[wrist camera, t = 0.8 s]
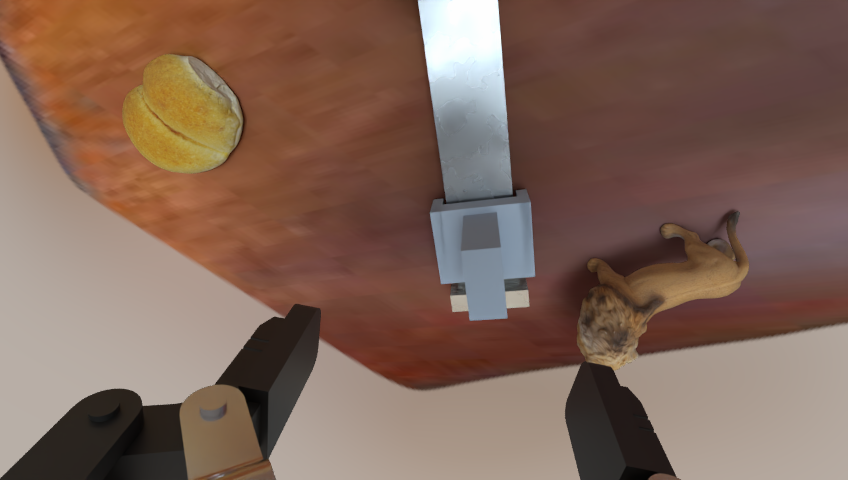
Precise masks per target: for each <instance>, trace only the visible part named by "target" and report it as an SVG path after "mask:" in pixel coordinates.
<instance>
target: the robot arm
mask: <svg viewBox="0 0 848 480" xmlns="http://www.w3.org/2000/svg"><path fill="white" fill-rule="evenodd" d="M320 318H321V310H320V308H315V307H310V306H305V305H300V304H295V305H294V306H293V307H292V309H291V310H290V312H289V313H288V314H287V316H286V317H285V319H284V318H278V317H273V318H271V319H270V320H268V321H266V322H265V323H263V324H261V325H260V326H259V327H258V328H257V330H256V331H255V332H254V334H253V335H252V336H251V339H249V340H248V341H247V343H246V344H245V345H244V348H243V349H241V351H240V352H239V353H238V355H237V356H236V357H235V359H234V360H233V361H232V362H231V364H230V365H229V366H228V368H227V369H226V370H225V372H224V373H223V374H222V376H221V377H220V378H219V380H218V381H217V382H216V384H215V385H212V386H208V387H204V388H202V389H199V390H197V391H195V392H194V393H192V394H191V395H190V396H188V397H187V398H186V400H185V401H184V402H183V403H178V404H170V405H169V404H168V405H152V406H142V400H141V398H140V396H139V395H138V394H137V393H135V392H133V391H130V390H127V389H110V390H105V391H101V392H98V393H95V394H92V395H90V396H88V397H86V398H84V399H83V400H81V401H80V402H78V403H77V404H76V405H75V406H74V407H72V408H71V409H70V410H69V411H68V412H67V413H66V414H65V415H64V416H63V417H62V418H61V419H60V420H59V421H58V422H57V423H56V424H55V425H54V426H53V427H52V428H51V429H50V430H49V431H48V432H47V433H46V434H45V435H44V436H43V437H42V438H41V439H40V440H39V441H38V442H37V443H36V444H35V445H34V446H33V447H32V448H31V449H30V450H29V451H28V452H27V453H26V454H25V455H24V456H23V457H22V458H21V459H20V460H19V461H18V462H17V463H16V464H15V465H14V466H13V467H12V468H10V469H9V471H8V472H7V473H5V474H4V475H3V476H2V477H1V478H0V480H276V478H275V475H274V472H273V469H272V466H271V463H270V461H269V460H268V459H269V457H270V455H271V452H272V450H273V448H274V446H275V444H276V442H277V440H278V438H279V436H280V434H281V432H282V430H283V428H284V426H285V424H286V422H287V420H288V418H289V416H290V414H291V412H292V410H293V408H294V406H295V404H296V402H297V400H298V398H299V396H300V394H301V391H302V390H303V388H304V386H305V384H306V382H307V380H308V378H309V376H310V374H311V372H312V370H313V367H314V364H315V361H316V358H317V353H318V343H319V331H320ZM565 419H566V424H567V428H568V432H569V436H570V440H571V444H572V448H573V452H574V456H575V460H576V464H577V468H578V472H579V476H580V479H581V480H681V479H679V478H677V477H676V475H675V473H674V471H673V469H672V466H671V464H670V462H669V460H668V458H667V456H666V454H665V452H664V450H663V448H662V445H661V443H660V441H659V439H658V437H657V435H656V433H654V429H653V427H652V425H651V422H650V421H649V420H648V416H647V414H646V412H645V410H644V408H643V406H642V404H641V402H640V401H639V400H638V398H637V397H636V396H635V395H634V394H633V393H632V392H631V391H630V390H629V389H628V387H623V386H620V384H619V382H618V379H617V377H616V375H615V373H614V370H613V369H612V367H610V366H606V365H601V364H596V363H591V362H586V361H585V362H583V363H582V364H581V366H580V369H579V371H578V374H577V376H576V379H575V381H574V384H573V386H572V389H571V391H570V394H569V396H568V399H567V402H566V409H565Z"/></svg>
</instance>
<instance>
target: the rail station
mask: <svg viewBox="0 0 848 480" xmlns="http://www.w3.org/2000/svg"><path fill="white" fill-rule="evenodd" d="M418 5H419V12H420V19H421V26H422V33H423V40H424V47H425V55H426V62H427V69H428V76H429V83H430V90H431V97H432V104H433V111H434V118H435V126H436V133H437V140H438V147H439V154H440V161H441V168H442V175H443V182H444V190H445V197H446V204H453V203H462V202H471V201H480V200H489V199H498V198H508V197H513V191H512V178H511V165H510V152H509V139H508V127H507V114H506V101H505V88H504V75H503V62H502V49H501V36H500V23H499V10H498V0H418ZM504 286H505V296H506V307H507V308H517V307H529V295H528V287H527V282H526V277H524V278H512V279H504ZM450 297H451V304H452V311H453V312H459V311H469V310H468V303H467V295H466V288H465V282H461V283H452V284H451V294H450Z"/></svg>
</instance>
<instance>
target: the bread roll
mask: <svg viewBox="0 0 848 480" xmlns="http://www.w3.org/2000/svg"><path fill="white" fill-rule="evenodd" d="M122 115H123V123H124V127H125V129H126V132H127V134H128V136H129V137H130V139H131V141H132V143H133V144H134V146H135V147H136V148H137V149H138V151H139V152H140V153H141V154H142V155H143V156H144V157H145V158H146V159H148V160H149V161H150V162H152V163H153V164H155V165H156V166H158V167H160V168H162V169H165V170H168V171H172V172H178V173H200V172H204V171H208V170H211V169H213V168H215V167H218V166H219V165H221V164H222V163H224V162H225V161H226V159H227V158H228V156H229V155H230V153H231V152H232V151H233V149H234V148H235V147H236V145H237V144H238V142H239V139H240V136H241V133H242V125H243V116H242V111H241V108H240V105H239V101H238V99H237V97H236V95H235V94H234V93H233V92H232V91H231V90H230V88H229V87H228V86H227V85H226V83H225V82H224V81H223V80H222V79H221V78H220V77H219V76H218V75H217V74H216V73H215V72H214V71H213V70H212V69H210V68H209V67H208V66H207V65H206V64H204V63H203V62H202V61H201V60H199V59H197V58H195V57H193V56H179V55H174V54H165V55H162V56H160V57H158V58H156V59H154V60H152V61H151V62H150V63H149V64H148V65H147V66H146V68H145V70H144V74H143V85H140V86H138V87H136V88H134V89H133V90H131V91H130V92H129V93H128V94H127V96H126V98H125V100H124V103H123V110H122Z"/></svg>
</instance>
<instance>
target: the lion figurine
mask: <svg viewBox="0 0 848 480" xmlns="http://www.w3.org/2000/svg"><path fill="white" fill-rule="evenodd" d="M739 215H740V212H739V211H737V212H735V213H733V214H731V215H730V216H729V217H728V220H727V227H726V229H727V233H728V238H729V241H730V243H731V247H732V248H731V247H730V245H729V244H728V243H727V242H726V241H724V240H721V239H716V240H712V241H710V242H709V243H708V244H705V243H703V242H701V241H700V239H699V236H698V234H696V233H695V232H692V231H689V230H686V229H683V228H682V227H680V226H678V225H675V224H670V223H668V224H664V225H663V226H662V227H661V228H660V232H661V235H662V236H663V237H664V238H672V237H681V238H682V239H684V241H685V252H686V254H687V257H688V259H687V261H685V262H682V263H660V264H654V265H650V266H647V267H644V268H641V269H639V270H637V271H635V272H633V273H632V274H630V275H628V276H627V277H623V276H622V275H619V274H617V273H615V272H614V271H613V270H612V269H611V268H610V267H609V265H608V264H607V263H605V262H604V261H602V260H601V259H598V258H592V259H590V260H589V262H588V264H587V267H588V269H589V270H590V271H591V272H598V279H599V282H600V284H599V285H597V286H596V287H593V288H592V289H590V291H589V293H588V297H586V298H584V299H583V301H582V307H581V311H580V317H579V321H578V325H577V331H578V334H577V345H578V346H579V348H580V351H581V352H582V353H583V355H584V356H585V358H586V359H585V360H586V362H591V363H596V364H601V365H606V366H610V367H612V369H613V370H618V369H619V368H620V367H621V366H624V365H625V364H626V363H631V362H632V361H633V360H635V359H636V358H637V357H638V353H637V352H636V350H635V348H636V347H637V345H638V338H639V337H640V336H641V334H643V333H645V332H646V329H647V324H646V323H647V322H648V321H649V319H650V318H651V317H652V316H653V315H654V314H656V313H658V312H660V311H663V310H666V309H669V308H672V307H675V306H677V305H679V304H681V303H684V302H687V301H690V300H694V299H701V298H719V297H724V296H727V295H729V294H731V293H732V292H734V291H735V290H737V289H738V288H739V287H740V285H741V281H742V280H743V279H744V278H745V276H746V275H747V273H748V270H749V261H748V258H747V256H746V253H745V251H744V250H743V248H742V246H741V244H740V242H739V240H738V238H737V236H736V228H735V227H736V224H737V222H738V217H739ZM732 249H733V250H732ZM735 258H736V261H733V260H734V259H735Z"/></svg>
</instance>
